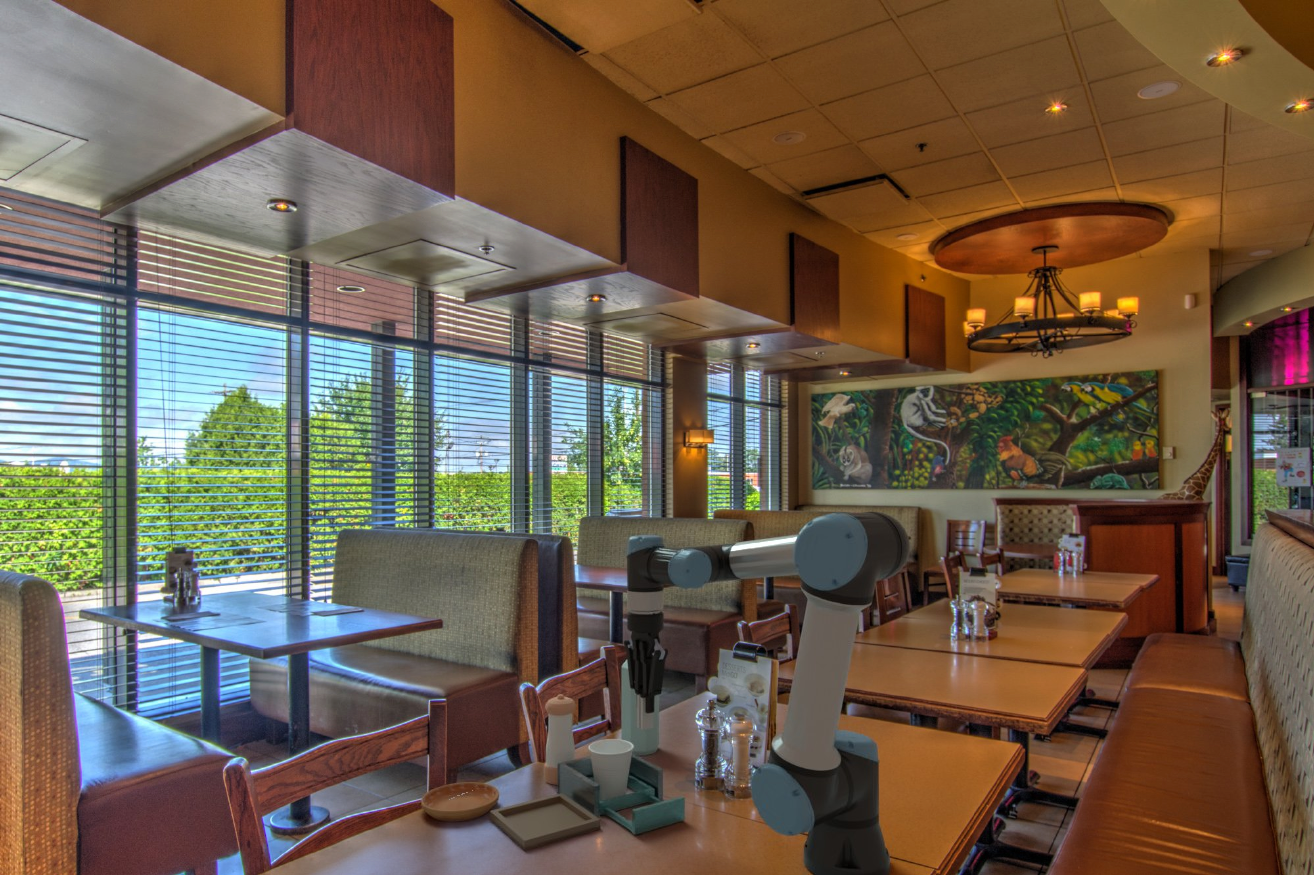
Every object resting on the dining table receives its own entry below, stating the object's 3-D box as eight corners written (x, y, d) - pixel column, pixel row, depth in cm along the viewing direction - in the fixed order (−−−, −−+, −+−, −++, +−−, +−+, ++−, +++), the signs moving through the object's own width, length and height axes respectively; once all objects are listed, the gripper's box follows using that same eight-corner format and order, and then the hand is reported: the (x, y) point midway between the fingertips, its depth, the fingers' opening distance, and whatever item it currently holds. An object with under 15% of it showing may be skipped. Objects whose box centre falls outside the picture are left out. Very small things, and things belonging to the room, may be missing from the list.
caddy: (687, 819, 165) (687, 796, 165) (631, 836, 157) (631, 812, 157) (621, 780, 186) (621, 760, 186) (568, 793, 178) (568, 772, 178)
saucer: (418, 801, 176) (418, 786, 176) (492, 790, 181) (492, 777, 181) (424, 831, 161) (424, 815, 161) (505, 818, 166) (505, 803, 166)
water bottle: (616, 745, 210) (616, 648, 211) (653, 741, 213) (653, 645, 214) (626, 758, 201) (626, 656, 202) (665, 754, 204) (665, 653, 205)
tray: (600, 828, 161) (600, 819, 161) (524, 850, 152) (524, 840, 152) (561, 801, 174) (561, 792, 174) (489, 819, 165) (489, 810, 165)
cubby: (662, 800, 175) (662, 769, 175) (594, 818, 165) (594, 786, 166) (623, 777, 188) (623, 748, 189) (557, 793, 179) (557, 763, 179)
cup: (627, 808, 171) (627, 755, 171) (582, 804, 173) (582, 752, 173) (638, 790, 180) (638, 740, 181) (595, 787, 182) (595, 737, 183)
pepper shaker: (579, 782, 185) (580, 697, 186) (548, 786, 183) (549, 700, 184) (571, 771, 192) (571, 689, 193) (540, 775, 189) (541, 692, 190)
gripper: (679, 613, 164) (680, 732, 163) (642, 604, 175) (642, 716, 174) (648, 617, 160) (648, 739, 158) (612, 608, 171) (612, 722, 170)
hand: (645, 727), depth 166 cm, fingers closed
